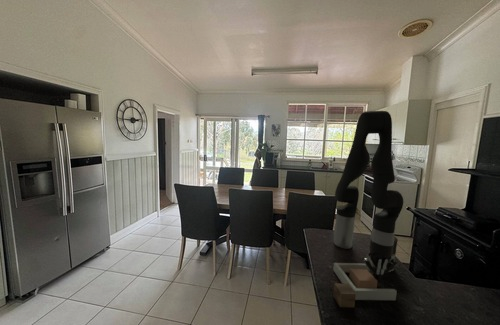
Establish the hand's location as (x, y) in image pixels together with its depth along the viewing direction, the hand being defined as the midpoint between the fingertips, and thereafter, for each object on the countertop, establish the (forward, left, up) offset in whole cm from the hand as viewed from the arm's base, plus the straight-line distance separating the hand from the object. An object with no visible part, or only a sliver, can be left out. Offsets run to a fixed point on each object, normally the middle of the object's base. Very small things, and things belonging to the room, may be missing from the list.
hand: (376, 281), depth 81 cm
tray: (0, -6, -1) cm, 6 cm away
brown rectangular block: (0, -6, -2) cm, 6 cm away
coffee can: (-13, +11, -2) cm, 17 cm away
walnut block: (+9, -18, -1) cm, 20 cm away
